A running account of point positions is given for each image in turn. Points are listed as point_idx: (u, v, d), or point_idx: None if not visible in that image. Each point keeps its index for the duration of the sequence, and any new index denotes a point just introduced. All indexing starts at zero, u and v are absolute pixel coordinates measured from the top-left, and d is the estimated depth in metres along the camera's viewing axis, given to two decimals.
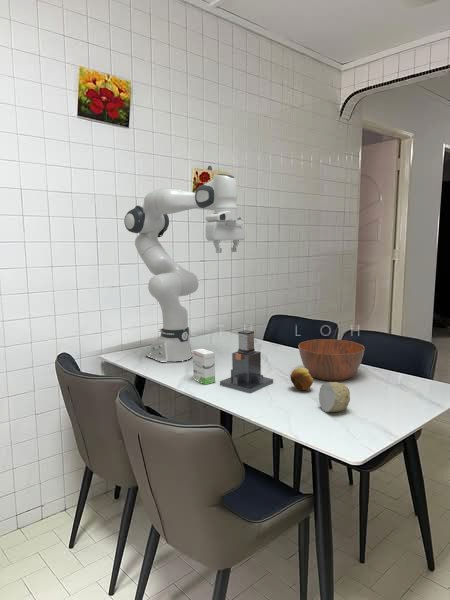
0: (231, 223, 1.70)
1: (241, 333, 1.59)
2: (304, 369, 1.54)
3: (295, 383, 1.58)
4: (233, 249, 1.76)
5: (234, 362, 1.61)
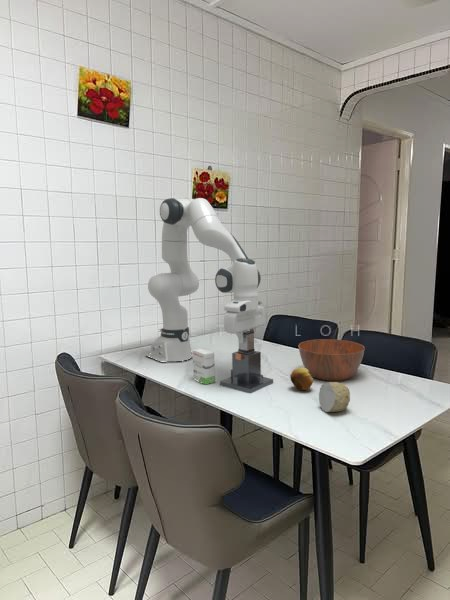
0: (252, 312, 1.57)
1: None
2: (304, 369, 1.54)
3: (295, 383, 1.58)
4: None
5: (234, 362, 1.61)
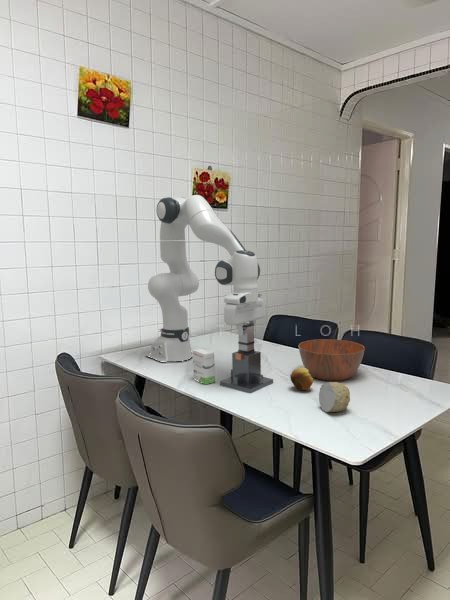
0: (251, 304, 1.56)
1: None
2: (304, 369, 1.54)
3: (295, 383, 1.58)
4: None
5: (234, 362, 1.61)
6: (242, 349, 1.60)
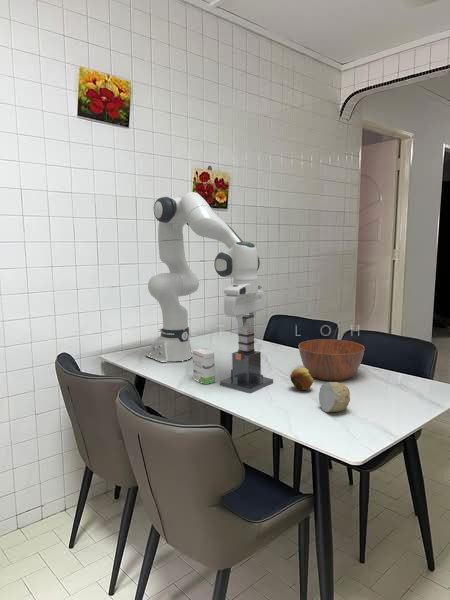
0: (251, 295, 1.56)
1: None
2: (304, 369, 1.54)
3: (295, 383, 1.58)
4: None
5: (234, 362, 1.61)
6: (242, 341, 1.59)
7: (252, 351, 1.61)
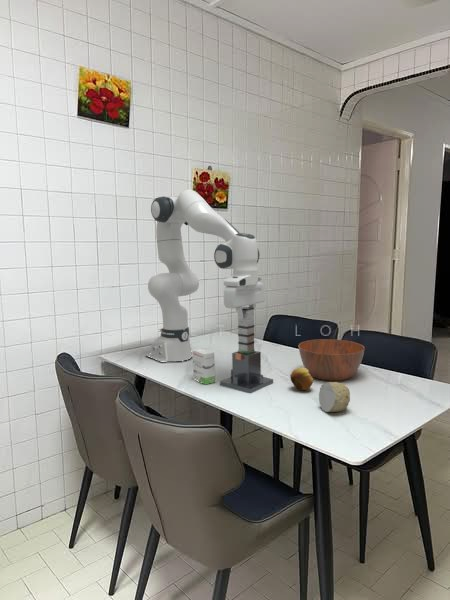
0: (251, 287, 1.56)
1: None
2: (304, 369, 1.54)
3: (295, 383, 1.58)
4: None
5: (234, 362, 1.61)
6: (242, 333, 1.59)
7: (252, 343, 1.60)
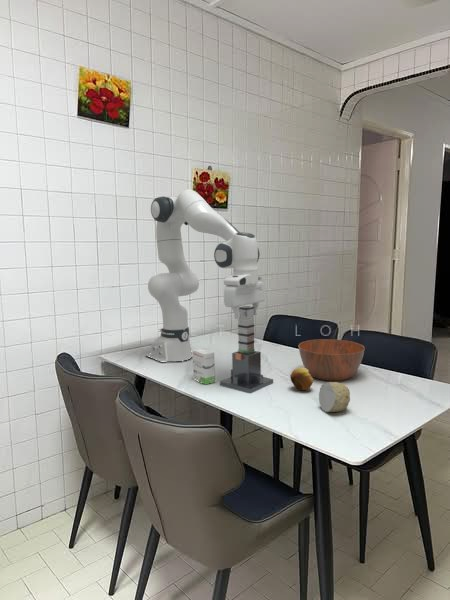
0: (251, 286, 1.56)
1: (241, 308, 1.58)
2: (304, 369, 1.54)
3: (295, 383, 1.58)
4: None
5: (234, 362, 1.61)
6: (242, 333, 1.59)
7: (252, 342, 1.60)
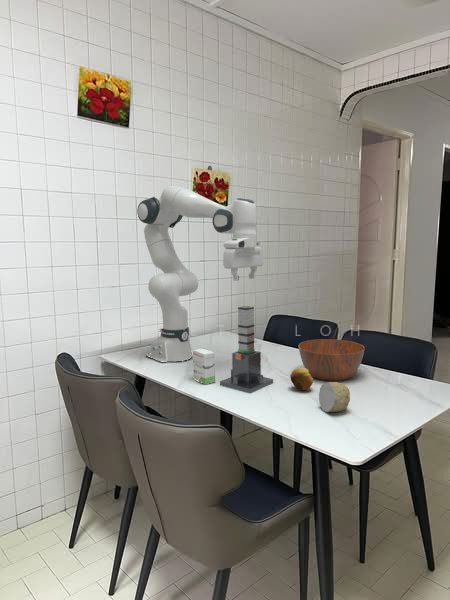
0: (250, 250, 1.63)
1: (241, 308, 1.58)
2: (304, 369, 1.54)
3: (295, 383, 1.58)
4: (251, 276, 1.70)
5: (234, 362, 1.61)
6: (242, 333, 1.59)
7: (252, 342, 1.60)
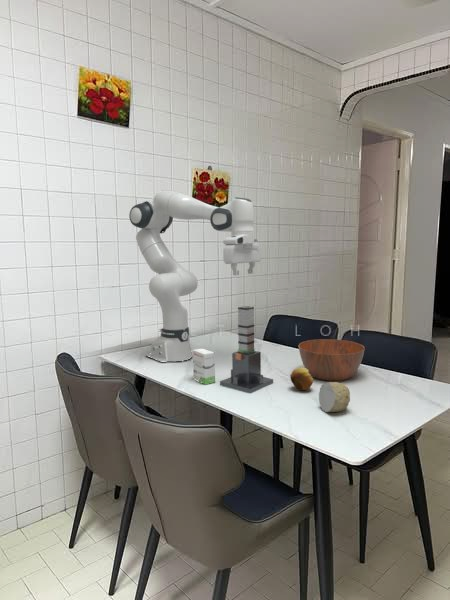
0: (248, 246, 1.72)
1: (241, 308, 1.58)
2: (304, 369, 1.54)
3: (295, 383, 1.58)
4: (249, 271, 1.79)
5: (234, 362, 1.61)
6: (242, 333, 1.59)
7: (252, 342, 1.60)
